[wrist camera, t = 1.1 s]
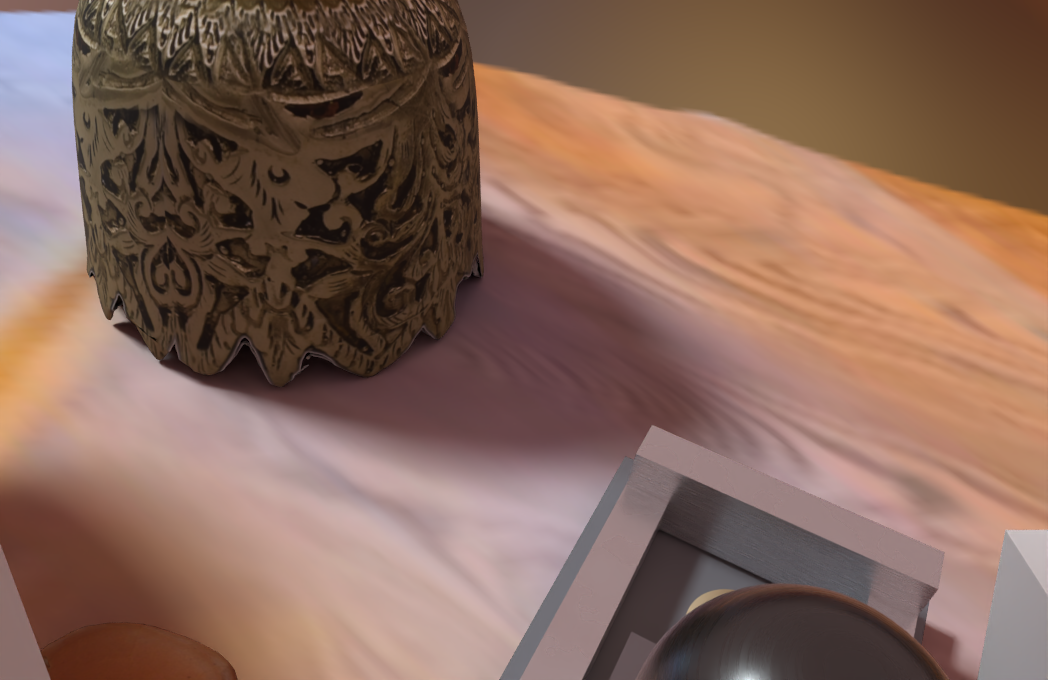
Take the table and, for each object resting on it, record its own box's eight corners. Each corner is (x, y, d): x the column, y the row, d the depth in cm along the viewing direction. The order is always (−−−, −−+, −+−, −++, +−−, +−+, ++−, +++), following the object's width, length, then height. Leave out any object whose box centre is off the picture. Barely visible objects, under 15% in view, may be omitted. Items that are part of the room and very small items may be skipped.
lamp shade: (225, 126, 67) (179, -279, 50) (525, 208, 64) (582, -196, 47) (0, 318, 50) (-182, -198, 33) (392, 443, 47) (409, -59, 30)
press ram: (340, 1026, 27) (311, 595, 12) (634, 481, 44) (783, 5, 28) (761, 1316, 24) (1517, 1251, 8) (906, 605, 40) (1244, 141, 25)
